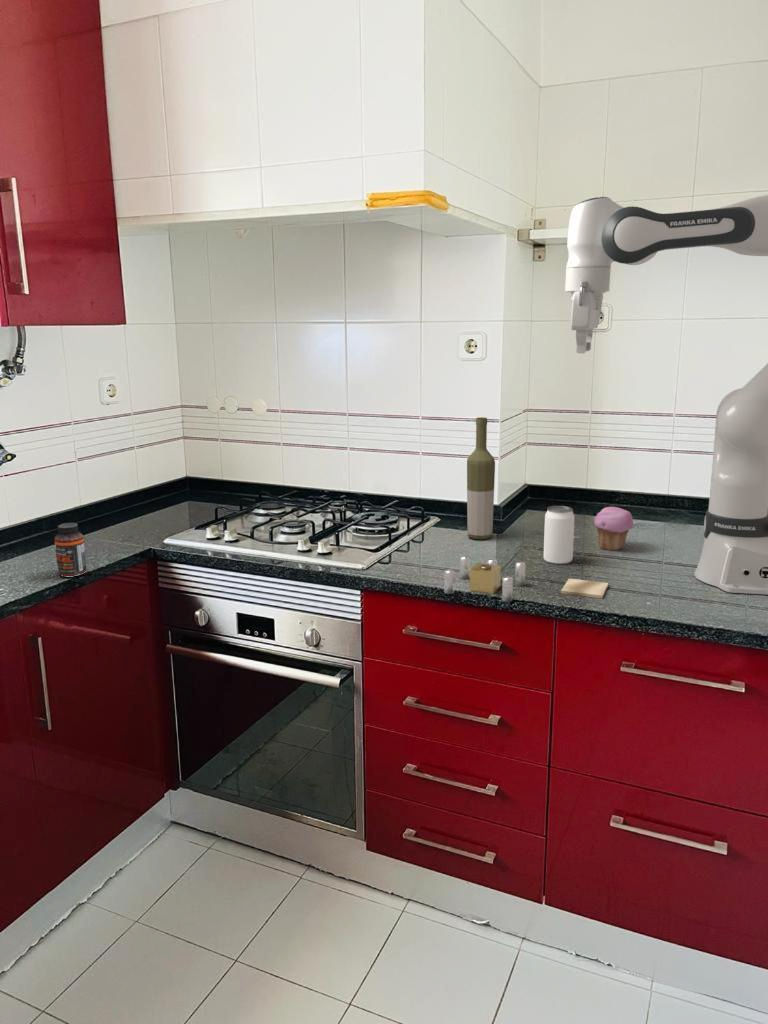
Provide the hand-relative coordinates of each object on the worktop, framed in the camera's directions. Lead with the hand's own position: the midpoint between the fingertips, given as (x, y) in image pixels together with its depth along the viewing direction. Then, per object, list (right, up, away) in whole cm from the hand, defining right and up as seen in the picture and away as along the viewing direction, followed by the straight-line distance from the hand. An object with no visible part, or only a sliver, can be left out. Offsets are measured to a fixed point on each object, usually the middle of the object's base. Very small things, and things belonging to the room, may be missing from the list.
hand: (583, 352), depth 164 cm
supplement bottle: (-110, -47, +9) cm, 120 cm away
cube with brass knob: (-21, -49, -3) cm, 54 cm away
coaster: (-1, -49, -5) cm, 49 cm away
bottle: (-18, -40, +33) cm, 55 cm away
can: (-2, -45, +14) cm, 47 cm away
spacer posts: (-21, -49, -3) cm, 53 cm away
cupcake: (+12, -42, +22) cm, 49 cm away
